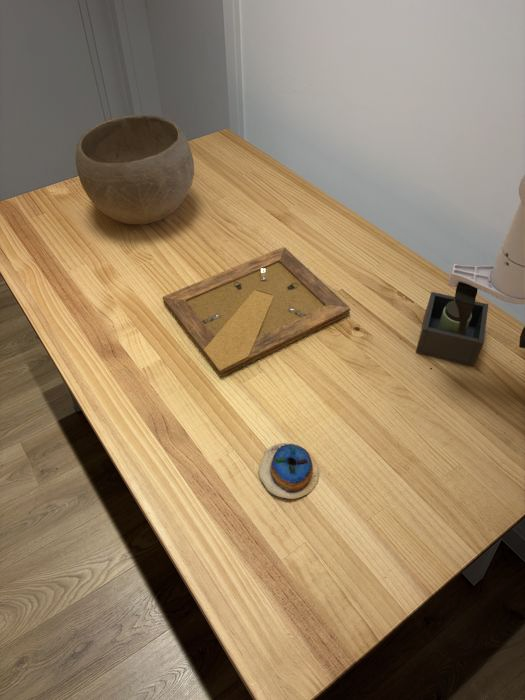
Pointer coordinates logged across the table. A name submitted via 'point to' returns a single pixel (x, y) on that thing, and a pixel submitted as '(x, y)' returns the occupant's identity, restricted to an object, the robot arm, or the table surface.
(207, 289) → the picture frame
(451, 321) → the green lidded canister
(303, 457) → the dessert
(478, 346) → the bin
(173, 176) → the bowl
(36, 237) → the table surface
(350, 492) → the table surface
